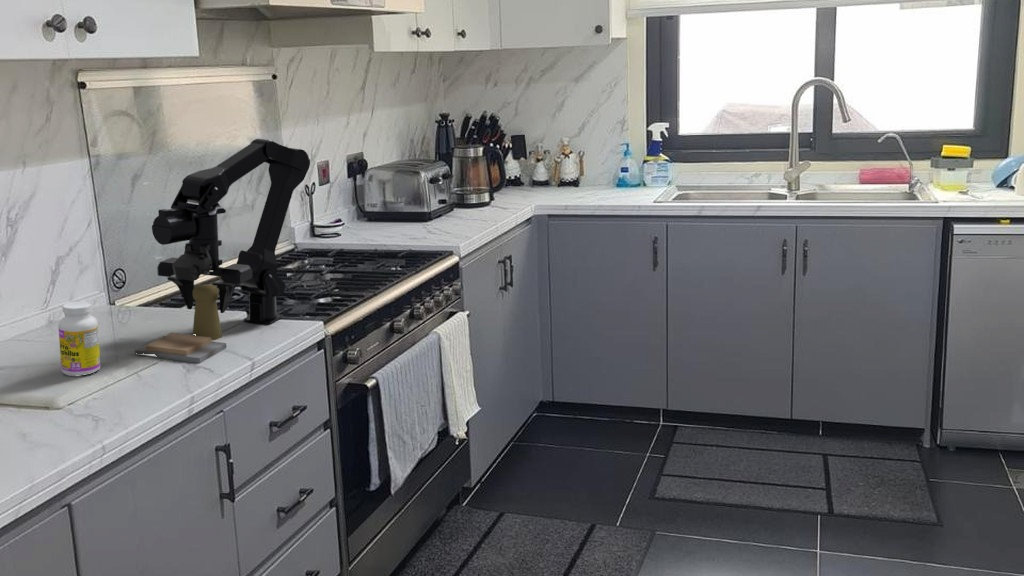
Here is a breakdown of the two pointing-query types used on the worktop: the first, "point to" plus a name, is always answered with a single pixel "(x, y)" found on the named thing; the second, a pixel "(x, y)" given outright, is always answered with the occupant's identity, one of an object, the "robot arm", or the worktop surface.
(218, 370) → the worktop surface
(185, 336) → the stand
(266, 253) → the robot arm
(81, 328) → the supplement bottle
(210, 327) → the cork
